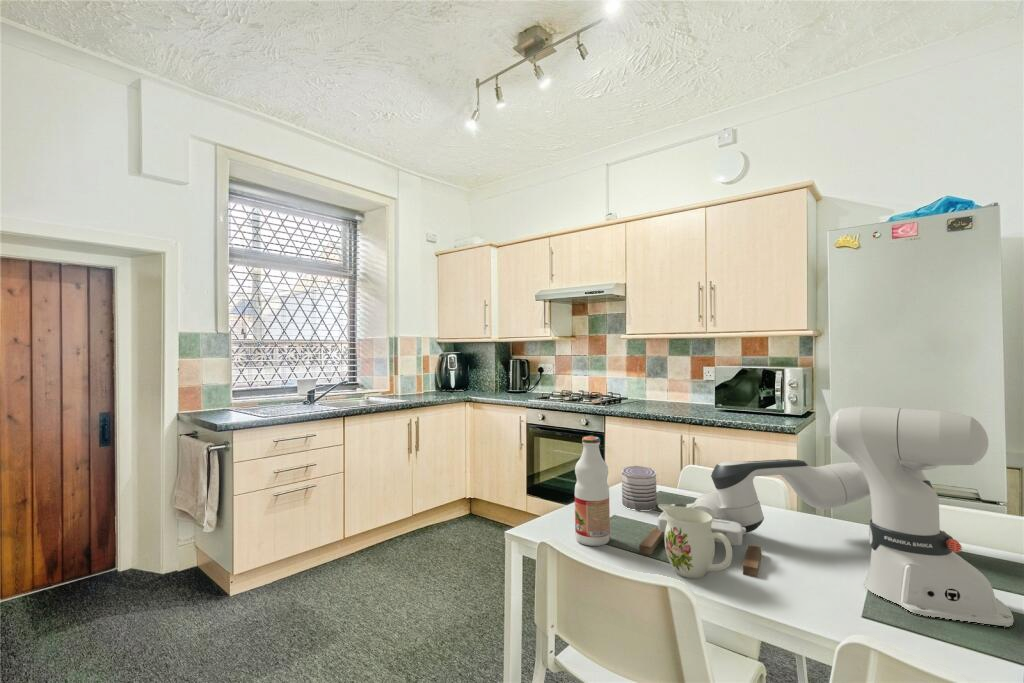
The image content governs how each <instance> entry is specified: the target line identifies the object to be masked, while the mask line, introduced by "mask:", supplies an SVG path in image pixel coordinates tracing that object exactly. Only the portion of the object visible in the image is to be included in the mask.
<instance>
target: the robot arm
mask: <svg viewBox="0 0 1024 683" xmlns="http://www.w3.org/2000/svg"><path fill="white" fill-rule="evenodd" d="M829 434H830V437H831V439H832V441H833V443H834V444H835V446H836V447H837V448H839V449H840V450H841V451H843V452H844V453H846V454H847V455H848V456H849V457H850V458H851V459H852V460H853V461H854V462H852V461H851V462H836V463H830V464H825V465H820V466H811V465H808V463H807V462H806V461H804V460H800V459H791V458H790V459H786V458H785V459H769V460H766V459H765V460H752V461H751V460H750V461H749V460H748V461H740V460H725V461H722V462H719V463H717V464H715V466H714V468H713V470H712V472H711V476H710V477H711V480H712V482H713V485H714V487H715V489H716V492H713V491H711V492H710V491H709V492H705V493H702V494H701V495H699V496H698V497H697V498H696V500H694V501H693V502H691V503H681V504H679V503H675V504H674V503H671V505H672V506H680V507H688V508H693V509H697V510H701V511H704V512H706V513H708V514H710V515H711V516H712V524H711V531H712V533H714V532H719V533H722V534H723V535H725V536H726V537H727V539H728V540H729V542H730V544H731V546H742V545H743V535H744V534H746V533H751V532H754V531H755V530H757V529H758V528H759V527H760V526H761V524H762V523H763V522H764V520H765V517H764V513H763V509H762V506H761V503H760V500H759V496H758V493H757V491H756V488H755V484H754V479H755V477H767V476H780V477H782V478H783V479H784V480H785V481H786V483H788V484H789V486H790V487H791V488H792V490H793V492H794V493H795V494H796V495H797V496H798V497H799V498H800V499H801V500H802V501H803V502H804V503H806V504H807V505H809V506H811V507H813V508H815V509H818V510H831V509H836V508H841V507H843V506H847V505H851V504H852V503H856V502H858V501H860V500H863V499H865V498H867V497H870V505H871V506H870V507H871V519H870V520H869V526H868V535H869V536H868V537H869V538H868V539H869V545H870V547H871V549H870V550H871V551H870V552H871V553H870V560H869V566H868V571H867V574H866V577H865V581H864V585H865V588H866V589H867V590H868V591H869V592H871V593H872V594H873V593H874V594H873V595H875V594H876V595H875V596H877V595H878V596H877V597H879V596H881V597H883V598H885V599H887V600H890V601H892V602H894V603H897V604H899V605H901V606H902V607H904V608H905V609H907V610H909V611H910V612H913V613H917V614H920V615H919V616H921V615H923V616H922V617H928V616H929V618H935V617H940V618H939V619H942V618H945V619H944V620H949V619H952V620H951V621H956V620H960V621H959V622H963V621H968V622H967V623H970V622H977V623H984V624H995V625H1006V626H1010V625H1012V624H1013V622H1014V623H1015V620H1014V616H1013V613H1012V611H1011V610H1010V609H1009V608H1008V606H1007V605H1006V604H1005V603H1003V602H1002V601H1001V600H1000V599H998V598H997V597H996V595H995V591H994V589H993V586H992V585H991V583H990V581H989V579H988V578H987V577H986V576H985V574H983V573H982V572H981V571H980V570H979V569H977V568H976V567H975V566H973V565H972V564H971V563H969V562H968V561H967V560H965V559H964V558H963V557H961V556H960V555H959V554H957V553H959V552H960V551H962V549H963V546H962V545H961V544H960V542H959V541H957V540H956V539H954V538H953V537H952V536H951V535H950V534H948V533H947V532H946V531H944V530H941V526H940V521H941V520H940V502H939V501H940V500H939V499H940V498H939V496H938V494H937V492H936V491H935V489H934V488H933V485H932V484H931V483H932V482H931V481H930V480H928V478H927V477H926V476H925V473H924V472H923V471H929V470H934V469H937V468H938V467H940V466H974V465H975V464H977V463H979V462H980V461H981V460H982V459H984V457H985V456H986V453H987V451H988V450H989V449H988V448H989V436H988V434H987V431H986V429H985V428H984V426H983V425H982V424H981V423H980V422H979V421H978V420H977V419H976V418H974V417H973V416H971V415H965V414H961V413H956V412H951V411H946V410H937V409H925V408H923V409H921V408H919V409H918V408H907V407H906V408H905V407H891V406H889V407H888V406H876V405H875V406H872V405H860V406H859V405H858V406H850V407H849V406H848V407H840V408H839V409H837V411H835V413H834V414H833V415H832V417H831V418H830V422H829ZM667 523H668V522H667V518H666V516H665V513H664V512H663V511H662V512H661V513H660V515H659V516H658V518H657V528H658V529H659V531H661V532H664V533H665V530H666V526H667ZM714 542H715V543H720V544H724V543H723V542H722V541H721V540H720V539H718V538H714ZM885 599H884V600H885ZM887 600H886V601H887ZM892 602H891V603H892ZM894 603H893V604H894ZM902 607H901V608H902ZM905 609H904V610H905ZM907 610H906V611H907ZM910 612H909V613H910ZM913 613H912V614H913ZM930 616H931V617H930ZM977 623H976V624H977ZM984 624H983V625H984Z"/></svg>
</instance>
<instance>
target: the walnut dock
mask: <svg viewBox="0 0 1024 683" xmlns="http://www.w3.org/2000/svg"><path fill="white" fill-rule="evenodd" d="M663 537H664V538H665V532H661V531H659V529H658V527H652V529H651V530H650V531H649V532H648V533H647V534H646V536H645V537H644V538H643V540H642V541H641V542H639V546H638V547H639V551H638V552H639V554H643V555H649V556H652V555H653V553H654V552H655V550H656V549H657V548H656V547H658V546H659V545H660V543H662V541H663V539H664V538H663ZM662 538H663V539H662ZM661 540H662V541H661ZM658 544H659V545H658ZM745 551H746V552H745V555H744V558H743V563H742V574H743V575H745V576H750V577H754V578H759V577H758V576H759V571H760V565H761V559H762V546H760V545H754V544H750V543H747V547H746V550H745ZM651 554H652V555H651Z"/></svg>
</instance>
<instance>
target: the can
mask: <svg viewBox="0 0 1024 683" xmlns="http://www.w3.org/2000/svg"><path fill="white" fill-rule="evenodd" d="M620 472H621V489H622V490H621V492H622V494H621V498H622V502H621V503H622V504H623V505H624V506H625V507H627V508H630V509H635V510H650V509H654V508H655V507H656V505H657V506H658V504H657V503H658V502H657V498H658V497H657V473H658V471H657V470H654V469H653V468H651V467H648V466H641V465H632V466H625V467H623V468H622V469H621V470H620ZM622 504H621V505H622ZM624 506H623V507H624ZM625 507H624V508H625ZM627 508H626V509H627ZM656 508H657V507H656ZM630 509H629V510H630Z"/></svg>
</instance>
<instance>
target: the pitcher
mask: <svg viewBox="0 0 1024 683" xmlns="http://www.w3.org/2000/svg"><path fill="white" fill-rule="evenodd" d="M657 507H658V508H659V510H660V511H662V512H664V513H665V516H666V518H667V522H668V523H667V526H666V530H665V532H664V547H665V551H666V552H665V553H666V557H667V559H668V562H669V564H670V566H671V567H672V568H673V570H674V572H675V573H676V574H678V575H679V576H681V577H684V578H687V579H701V578H704V577H705V575H706V574H707V573H708V571H717V572H718V571H722V570H725V569H726V568H728V567H729V566H730V565H731V563H732V560H733V549H732V548H733V547H732V545H731V544H730V542H729V540H728V539H727V537H726V536H725V535H723V534H722V533H719V532H714V533H712V531H711V524H712V516H711V515H710V514H708V513H706V512H704V511H701V510H697V509H693V508H688V507H680V506H672V504H666V503H665V504H664V503H659V504H657ZM714 538H718V539H720V540H721V541H722V542H723V543H722V544H723V545H724V547H725V557H724V558H725V559H724V560H723V561H722V562H720V563H717V564H716V563H713V561H714V557H715V551H716V550H715V548H716V546H715V543H716V542H714Z"/></svg>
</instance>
